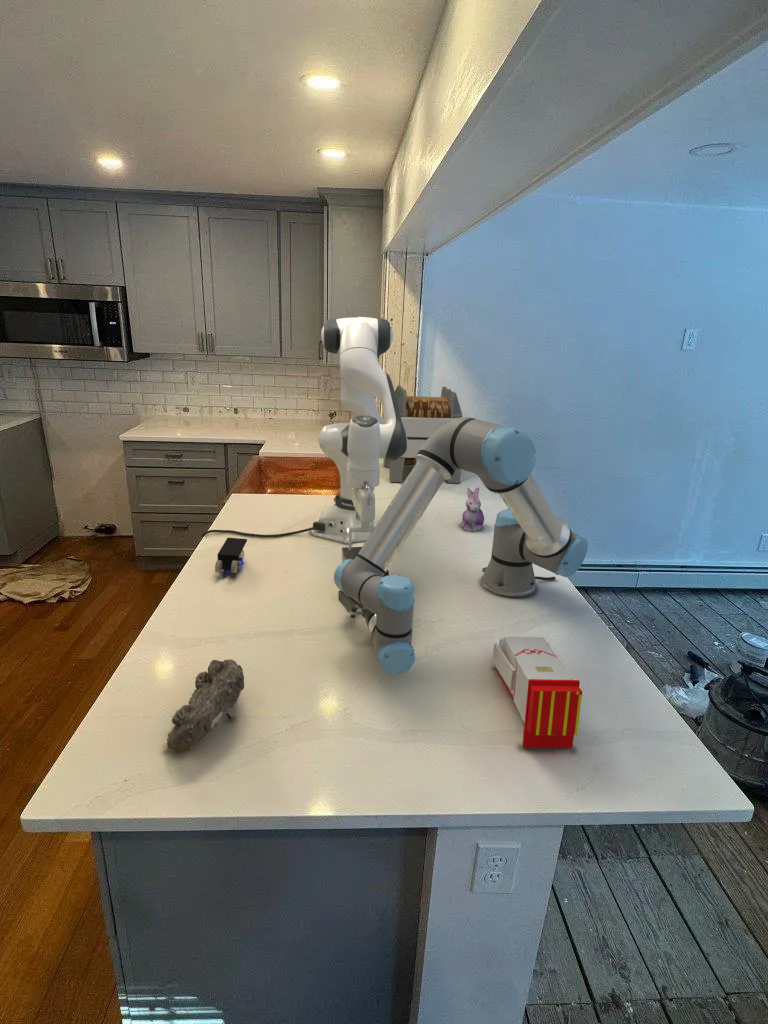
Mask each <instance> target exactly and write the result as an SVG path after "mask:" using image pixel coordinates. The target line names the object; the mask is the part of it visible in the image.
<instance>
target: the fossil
mask: <svg viewBox="0 0 768 1024" xmlns="http://www.w3.org/2000/svg"><path fill="white" fill-rule="evenodd" d="M243 670H244V669H243V667H242V665H240V664H237V662H236V661H235V660H234V659H232V658H231V659H227V658H226V659H224V660H223V661H222V660H217V659H212V660H211V661H210V663H209V665H208V666H207V671H201V672H199V673H198V674H197V675H196V676H195V680H194V684H195V685H194V687H195V689H194V690H193V693H192V694H191V697H190V698H189V700H188V704H184V705H182V706H181V707H180V709H177V710H176V711H175V713H174V715H173V716H172V718H171V723H172V724H173V727H172V730H171V731H170V732H168V734H167V738H166V741H167V742H166V745H167V749H168V750H169V751H173V752H174V753H176V754H178V753H182V752H188V751H189V752H192V751H193V750H195V748H196V747H197V746H199V744H200V743H201V742H203V741H204V740H205V739H206V738H207V737H208V736H209V735H210V734H211V733H212V732H214V730H215V729H217V727H218V726H219V724H220V722H221V721H222V720H223V719H224V718H225V716H226V717H227V719H229V720H233V717H232V715H230V714H229V710H230V709H231V708H234V706H235V704H236V703H237V702H238V699H239V697H240V695H241V693H242V691H243V690H245V689H244V688H245V675H244V671H243Z"/></svg>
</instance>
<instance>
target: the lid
mask: <svg viewBox="0 0 768 1024" xmlns="http://www.w3.org/2000/svg"><path fill="white" fill-rule="evenodd" d="M374 528H375V525H374V526H368V532H371V533H372V531H373V530H374ZM348 531H349V543H348V547H347V546H343V547H341V553H342V552H343V555H344V558H345V560H348V559H352V560H354V559H355V558H356V556H357V555H358V553H359V551H360V550H361V548H362V547H363V546H353V545H352V544H353V543H352V532H362V531H361V526H349V527H348ZM389 571H390V570H389V568H388V569H387V571H386V573H385V574H384V576H388V575H390V572H389Z"/></svg>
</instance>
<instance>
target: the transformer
mask: <svg viewBox="0 0 768 1024" xmlns="http://www.w3.org/2000/svg"><path fill="white" fill-rule="evenodd" d="M394 391H395V395H396V399H397V404H398V408H399V412H400V416H401V420H402V423H403V426H404V429H405V433H406V436H407V450H406V452H405V454H404V455H403V456H401V457H400V458H399V459H397V460H387V459H383V466H384V467H388V468H389V475H388V476H389V477H388V478H389V480H390V482H391V483H402V482H403V475H404V469H405V466H406V467H407V466H411V467H412V466H413V467H414V466H415V464H416V458H415V456H416V455H417V453H418V452H419V450H420V449H421V447H422V446H423V444H424V443H425V442H426V441H427V439H428V438H429V437H430V436H431V435H432V434H433V433H434V432H435V431H437V430H438V429H439V428H440V427H442V426H443V425H445V424H446V423H448V422H450V421H452V420H454V419H457V418H462V417H463V411H462V408H461V405H460V402H459V398H458V395H457V392H455V391H453V390H452V389H451V388H447V386H442V387H441V392H440V393H441V394H440V396H415V395H414V396H413V395H412V396H411V395H407V394H408V393H407V390H406V389H404V388H403V387H402V385H399V384H398V385H397V386H396V388H395V389H394ZM461 472H462V469H458V470H456V471H455V472H454V474H453V475H452V477H451V479H448V480H445V481H446V482H447V483H449V484H455V483H456V484H459V483H461Z"/></svg>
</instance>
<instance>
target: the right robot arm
mask: <svg viewBox="0 0 768 1024" xmlns="http://www.w3.org/2000/svg"><path fill="white" fill-rule="evenodd" d="M536 453H537V451H536V446H535V443H534V441H533V439H532V437H531V436H530V435H529V434H528V433H527V432H525V431H524V430H521V429H520V428H517V427H514V426H511V425H505V424H500V423H494V422H491V421H485V420H481V419H478V418H474V417H469V416H468V417H467V416H462V417H461V418H457V419H454V420H452V421H450V422H448V423H446V424H445V425H443V426H442V427H440V428H439V429H438V430H437V431H435V432H434V433H433V434H432V435H431V436H430V437H429V438H428V439H427V441H426V442H425V443H424V444H423V446H422V447H421V449H420V450H419V452H418V453H417V455H416V456H415V458H416V464H415V466H413V468H412V469H411V470H410V472H409V474H408V475H407V477H406V479H405V480H404V481H403V483H402V484H401V487H399V489H398V491H397V493H396V494H395V495H394V497H393V499H392V500H391V502H390V503H389V505H388V506H387V508H386V509H385V511H384V513H383V514H382V516H381V517H380V518H379V520H378V522H377V524H376V525H375V526H374V530H373V531H372V533H371V534H370V536H369V537H368V539H367V540H365V541H364V543H363V545H362V546H361V547H362V548H361V550H360V551H359V553H358V555H357V556H356V558H355V559H354V560H352V559H348V560H345V561H344V562H342V561H341V563H339V564H338V566H336V568H335V571H334V574H333V581H334V584H335V586H336V587H337V589H339V590H338V591H337V593H338V597H337V600H338V602H339V603H340V604H341V605H342V606H343V607H344V609H346V611H347V612H348V613H349V616H350V618H351V619H355V618H356V616H362V617H363V618H364V619H365V622H366V625H367V629H368V631H369V635H370V637H371V641H372V643H373V647H374V650H375V653H376V660H377V661H378V663H379V665H380V667H381V669H382V670H383V671H384V672H385V673H387V674H389V675H391V676H399V675H403V674H406V673H407V672H409V671H410V670H411V669H412V668H413V666H415V662H416V653H415V649H414V646H413V645H412V637H413V619H414V618H413V617H414V608H415V601H416V600H415V586H414V585H415V584H414V583H413V581H412V580H411V579H410V578H409V577H406V576H400V575H399V574H389V575H388V576H385V577H383V576H384V574H385V573H386V571H387V569H388V570H389V568H390V566H391V565H392V563H393V562H394V560H395V558H396V556H397V555H398V553H399V552H400V550H402V547H403V545H404V544H405V542H406V541H407V540H408V538H409V536H410V534H411V533H412V531H414V529H415V527H416V525H417V524H418V522H419V521H420V519H421V518H422V516H423V514H424V513H425V511H426V510H427V508H428V506H429V505H430V503H431V502H432V500H433V498H434V497H435V496H436V494H437V493H438V491H439V489H440V488H441V487H442V486H443V485H442V484H443V483H444V481H446V480H448V479H451V477H452V475H453V474H454V472H455V471H456V470H458V469H461V470H463V471H466V472H468V473H472V474H474V475H476V476H477V477H478V478H479V480H480V481H481V483H482V484H483V486H485V487H484V488H486V489H487V490H488V491H489V492H490V493H494V494H498V495H499V497H500V499H501V500H502V501H503V503H504V504H505V505H506V507H507V508H506V509H502V510H500V511H499V512H498V513H497V514H496V518H495V523H494V525H493V526H494V529H493V539H492V548H491V556H490V557H491V558H490V560H489V561H488V564H487V566H486V567H482V570H481V573H483V575H482V580H481V583H482V586H483V587H484V588H485V589H486V590H487V591H489V592H490V593H493V594H496V595H498V596H501V597H508V598H524V597H525V598H526V597H529V596H530V595H532V594H534V593H535V592H536V586H537V583H536V582H537V581H536V580H542V581H552V580H556V576H560V577H563V578H570V577H572V576H573V575H574V574H576V573H577V572H578V571H579V569H580V567H582V565H583V563H584V561H585V558H586V556H587V553H588V548H589V544H588V543H589V542H588V539H587V538H586V536H583V535H582V534H581V533H580V534H579V533H576V532H573V531H572V529H571V528H570V526H569V524H568V523H567V522H566V520H565V519H563V518H561V517H559V516H557V515H556V514H555V512H554V510H553V509H552V507H551V505H550V503H549V502H548V500H547V498H546V497H545V494H544V493H543V492H542V490H541V488H540V487H539V484H538V483H537V482H536V480H535V478H534V476H533V474H532V472H533V470H534V467H535V465H536V459H537V458H536V456H535V455H536ZM533 565H535V566H538V567H539V568H541V569H544V570H547V571H549V572H551V573H553V574H555V575H556V576H549V577H547V576H546V577H545V576H535V571H534V567H533ZM358 607H359V608H361V609H359V608H358Z"/></svg>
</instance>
